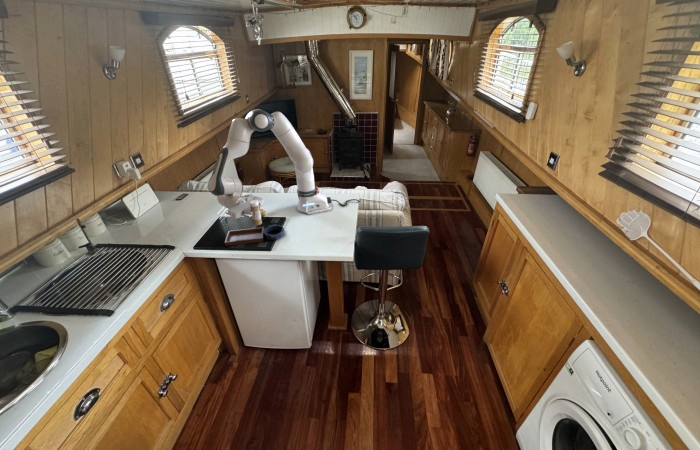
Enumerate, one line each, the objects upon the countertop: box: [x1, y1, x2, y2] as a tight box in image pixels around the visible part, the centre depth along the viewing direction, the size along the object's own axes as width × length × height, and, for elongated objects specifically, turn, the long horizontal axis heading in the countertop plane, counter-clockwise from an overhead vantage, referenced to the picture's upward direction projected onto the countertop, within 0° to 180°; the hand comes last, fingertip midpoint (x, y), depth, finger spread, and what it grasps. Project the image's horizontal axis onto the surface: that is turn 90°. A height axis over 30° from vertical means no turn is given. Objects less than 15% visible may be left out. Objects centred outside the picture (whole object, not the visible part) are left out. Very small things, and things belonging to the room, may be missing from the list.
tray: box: [224, 226, 266, 247], centre depth 159 cm, size 20×12×2 cm, turn 100°
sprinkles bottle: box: [249, 200, 263, 226], centre depth 153 cm, size 5×5×13 cm
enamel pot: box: [264, 223, 285, 241], centre depth 162 cm, size 11×14×3 cm
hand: (256, 211), depth 151 cm, fingers closed on sprinkles bottle, 4 cm apart
